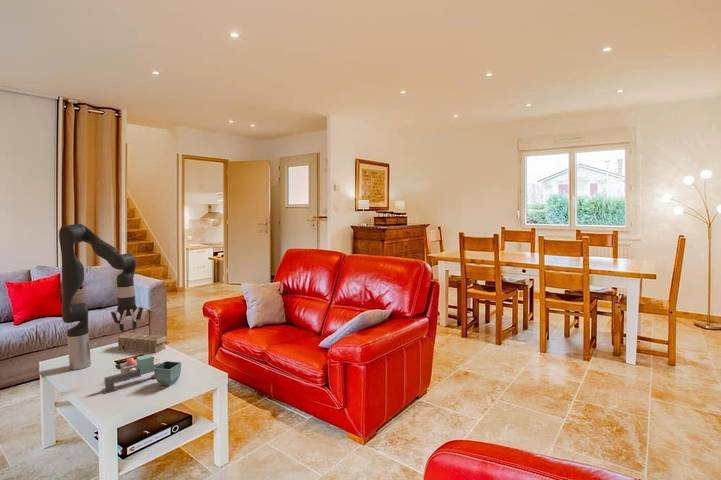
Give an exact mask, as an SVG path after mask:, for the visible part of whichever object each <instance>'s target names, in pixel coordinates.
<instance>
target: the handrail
mask: <svg viewBox="0 0 721 480" xmlns="http://www.w3.org/2000/svg"><path fill="white" fill-rule="evenodd" d="M160 364H161V362H159V363H156V364H155V363H154V368H155V367H156V366H158V365H160ZM152 372H154V371H152ZM152 372H148V373H145V374H140V370H139V369H136V370H132V371H128V372H124V373H121V372H120V373H116V374H114V375H110V376H106V377H104V378H103V379H104V388H102V389H101V391H102V392H103V393H104V395H106V394H109V393H112V392H116V391H118V387H116V386H115V384H114V383H116V382H117V383H118V382H120V381H123V380H124V379H128V378H132V377H135V376H139V375H141V376H143V375H146V374H150V373H152ZM151 378H153V379H154V380H156V377H155V373H154V374H151ZM124 381H125V380H124Z"/></svg>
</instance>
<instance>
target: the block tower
mask: <svg viewBox="0 0 721 480" xmlns="http://www.w3.org/2000/svg"><path fill="white" fill-rule="evenodd" d="M167 337H168V336H166V335H151V334H148V335H144V334H141V333H129V332H126V333H123V334H120V335H119V336H117V344H118V346H117V347H118V350H120V351H121V350H122V351H123V350H124V351H129V352H139V353H149V354H157V353H159V352H161V351H163V350H166V342H167V339H168V338H167Z"/></svg>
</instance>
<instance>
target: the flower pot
mask: <svg viewBox="0 0 721 480" xmlns="http://www.w3.org/2000/svg"><path fill="white" fill-rule="evenodd" d="M160 363H161V362H160ZM181 370H182V362H181V361H169V360H165V361H163V362H162V363H161V364H160V365H158V366H156V367H155V368H154V373H155V377H156V379H155V380H156V381H157V383H158V384H160V386H166V387H167V386H168V387H169V386H172V385H174V384H175V383H176V382H177V381H178V380H179V378H180V375H181Z"/></svg>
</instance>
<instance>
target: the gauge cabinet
mask: <svg viewBox="0 0 721 480" xmlns="http://www.w3.org/2000/svg"><path fill="white" fill-rule="evenodd" d="M119 366H120V373H124V372H128V371H132V370H136V369H137V360H134V365H131V366H127V363H126V362H125V363H121V364H120V365H119ZM139 377H142V375H139V376H135V377H132V378H128V379H124V381H128V380H132V379H136V378H139Z"/></svg>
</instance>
